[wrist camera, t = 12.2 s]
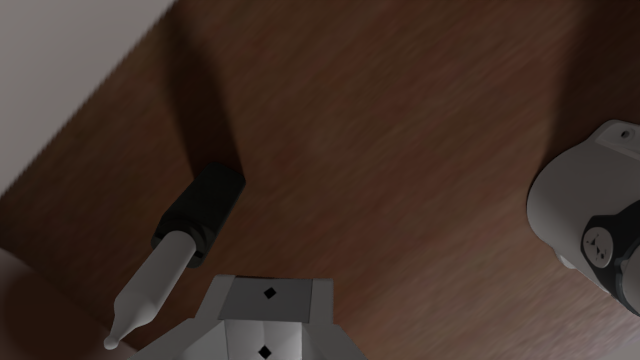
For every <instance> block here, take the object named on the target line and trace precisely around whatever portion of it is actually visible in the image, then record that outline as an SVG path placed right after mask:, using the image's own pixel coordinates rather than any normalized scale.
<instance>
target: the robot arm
mask: <svg viewBox="0 0 640 360" xmlns="http://www.w3.org/2000/svg"><path fill="white" fill-rule="evenodd" d="M624 131H625V134H624V135H623V136H621V134H622V133H623V132H624ZM527 216H528V220H529V223H530V226H531V228H532V229H533V231H534V232H535V234H536V235H537V236H538V237H539V238H540V239H541V240H543V241H544V242H546V243H547V244H548V245H550V246H551V247H552V248H553V249H554V251H555V253H556V255H557V257H558V259H559V260H560V262H561V263H562V264H564V265H565V266H566V267H568V268H577V269H578V270H579V271H580V272H581V273H583V274H584V275H585V276H586V277H588V278H589V279H590V280H591V281H593V282H594V283H595V284H596V285H598V286H599V287H600V288H601V289H603V290H604V291H605V292H607V293H610V294H611V296H612V297H613V298H614V299H615V300H616V301H617V302H619V303H620V304H621V305H623V306H625V307H626V308H627V309H628V310H629V311H631V312H632V313H634V314H635V315H637V316H639V317H640V125H637V124H633V123H629V122H624V121H620V120H609V121H607V122H605V123H604V124H603V125H601V126H600V127H599V128H598V129H597V130H596V131H595V132H594V133H593V134H592V135H591V136H590V137H589V138H588V139H587V140H585V141H584V142H582V143H580V144H579V145H577V146H575V147H573V148H571V149H569V150H567V151H565V152H563V153H562V154H560V155H559V156H558V157H556V158H555V159H554V160H552V161H551V162H550V163H549V164H548V165H547V166H546V167H545V168H544V169H543V170H542V172H541V173H540V174H539V176H538V177H537V179H536V180H535V182H534V184H533V186H532V188H531V190H530V193H529V196H528V201H527ZM127 360H368V359H367V358H366V357H365V355H364V354H363V353H362V352H361V351H360V349H359V348H358V347H357V346H356V345H355V344H354V342H353V341H352V340H351V339H350V338H349V336H348V335H347V334H346V333H345V332H344V330H343V329H342V328H341V327H340V326H339V325H333V279H317V278H313V279H294V278H274V277H258V276H242V275H237V276H236V275H220V274H218V275H216V276H215V277H214V279H213V281H212V283H211V285H210V287H209V289H208V291H207V293H206V295H205V297H204V299H203V301H202V303H201V306H200V308H199V310H198V312H197V314H196V316H195V318H194V319H187V320H185V321H184V322H182V323H181V324H179V325H178V326H176V327H175V328H173V329H172V330H170V331H169V332H167V333H166V334H164V335H163V336H161V337H160V338H158V339H157V340H155V341H154V342H152V343H151V344H149V345H148V346H146V347H145V348H143V349H142V350H140V351H139V352H137V353H136V354H134V355H133V356H131V357H130V358H128V359H127Z"/></svg>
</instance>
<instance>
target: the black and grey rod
mask: <svg viewBox="0 0 640 360" xmlns="http://www.w3.org/2000/svg"><path fill="white" fill-rule="evenodd" d="M245 185H246V182H245V179H244V177H243V176H242V175H240V174H239V173H237V172H235V171H233V170H231V169H229V168H227V167H226V166H224V165H222V164H220V163H217V162H212V163H209V164H208V165H207V166H206V167H205V168H204V170H203V171H202V172H201V173H200V174H199V175H198V176H197V177H196V178H195V180H194V181H193V182H192V183H191V184H190V185H189V186H188V187H187V189H186V190H185V191H184V192H183V193H182V194H181V195H180V196H179V197H178V199H177V200H176V201H175V202H174V203H173V204H172V205H171V206H170V207H169V209H168V210H167V211H166V212H165V213H164V214H163V216H162V218H161V220H160V222H159V224H158V226H157V228H156V231H155V233H154V235H153V237H152V239H151V246H152V248H153V250H154V251H153V252H152V253H151V255H150V256H149V257H148V258H147V260H146V261H145V262H144V264H143V265H142V266H141V267H140V269H139V270H138V271H137V272H136V274H135V275H134V276H133V277H132V279H131V280H130V281H129V282H128V284H127V285H126V286H125V287H124V289H123V290H122V291H121V292H120V294H119V295H118V296H117V298H116V300H115V303H114V309H115V319H114V323H113V326H112V329H111V333H110V336H108V337H107V338H106V339H105V340H104V346H105V348H106V349H114V348H116V347H117V346H118V343H119V340H120V339H122V338H123V337H124V336H125V335H127V334H128V333H129V332H131V331H132V330H133V329H134V328H136V327H138V326H142V325H144V324H147V323H149V322H150V321H152V320H153V319H154V317H155V316H156V314H157V313H158V311H159V309H160V308H161V306H162V305H163V303H164V301H165V300H166V298H167V296H168V295H169V293H170V292H171V290H172V288H173V287H174V285H175V283H176V282H177V280H178V278H179V277H180V275H181V274H182V272H183V270H184V269H185V267H188V268H197V267H199V266H201V264H202V263H203V261H204V260H205V258H206V256H207V254H208V252H209V251H210V249H211V247H212V245H213V243H214V242H215V240H216V238H217V236H218V234H219V232H220V231H221V229H222V227H223V225H224V223H225V222H226V220H227V218H228V216H229V214H230V213H231V211H232V209H233V207H234V205H235V203H236V202H237V200H238V198H239V196H240V194H241V193H242V191H243V189H244V187H245Z"/></svg>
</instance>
